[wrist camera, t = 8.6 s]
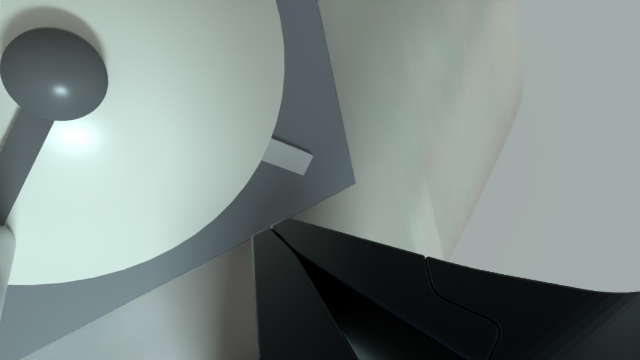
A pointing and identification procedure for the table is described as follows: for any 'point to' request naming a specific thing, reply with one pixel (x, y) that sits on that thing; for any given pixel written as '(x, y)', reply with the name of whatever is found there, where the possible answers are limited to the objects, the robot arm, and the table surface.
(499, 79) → the table surface
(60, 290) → the dial board
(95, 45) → the dial
